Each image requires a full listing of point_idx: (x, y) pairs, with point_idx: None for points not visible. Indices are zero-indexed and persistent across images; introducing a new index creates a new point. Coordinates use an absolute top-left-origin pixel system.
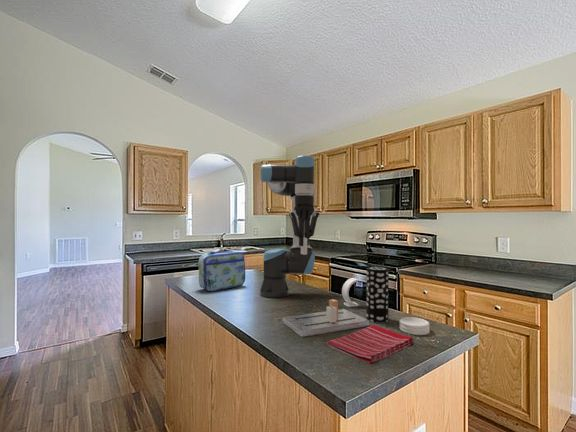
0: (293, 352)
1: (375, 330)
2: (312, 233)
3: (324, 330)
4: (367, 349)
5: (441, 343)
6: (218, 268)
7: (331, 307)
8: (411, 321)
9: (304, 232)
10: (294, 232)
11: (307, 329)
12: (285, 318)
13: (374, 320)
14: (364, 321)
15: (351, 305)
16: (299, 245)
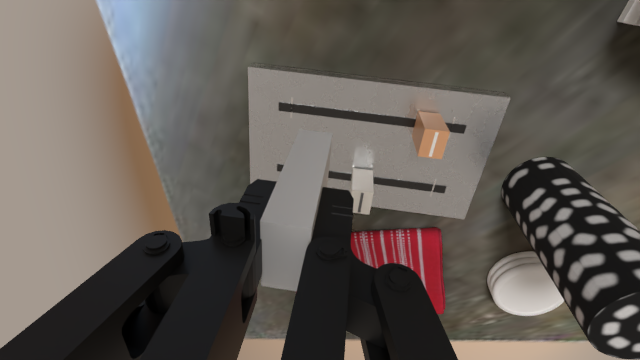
0: (205, 230)
1: (420, 257)
2: (385, 354)
3: None
4: None
5: (484, 328)
6: None
7: (358, 204)
8: (525, 290)
9: (296, 297)
10: (108, 280)
11: None
12: (251, 85)
13: (504, 201)
14: (446, 216)
15: (634, 24)
16: (256, 182)
